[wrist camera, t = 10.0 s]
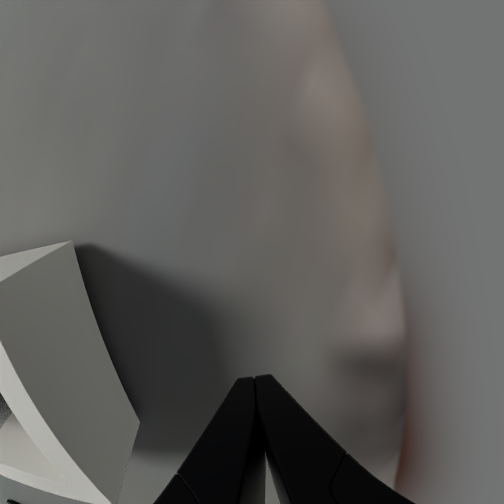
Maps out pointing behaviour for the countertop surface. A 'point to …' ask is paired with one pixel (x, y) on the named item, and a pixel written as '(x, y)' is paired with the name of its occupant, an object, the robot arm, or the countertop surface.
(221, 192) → the countertop surface
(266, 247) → the countertop surface
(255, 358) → the countertop surface
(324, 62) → the countertop surface
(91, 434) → the cap
